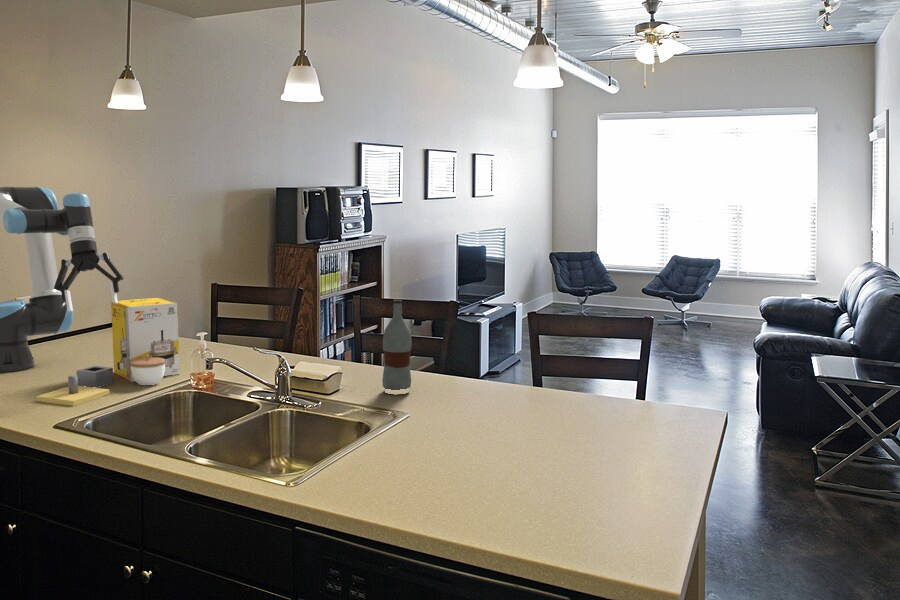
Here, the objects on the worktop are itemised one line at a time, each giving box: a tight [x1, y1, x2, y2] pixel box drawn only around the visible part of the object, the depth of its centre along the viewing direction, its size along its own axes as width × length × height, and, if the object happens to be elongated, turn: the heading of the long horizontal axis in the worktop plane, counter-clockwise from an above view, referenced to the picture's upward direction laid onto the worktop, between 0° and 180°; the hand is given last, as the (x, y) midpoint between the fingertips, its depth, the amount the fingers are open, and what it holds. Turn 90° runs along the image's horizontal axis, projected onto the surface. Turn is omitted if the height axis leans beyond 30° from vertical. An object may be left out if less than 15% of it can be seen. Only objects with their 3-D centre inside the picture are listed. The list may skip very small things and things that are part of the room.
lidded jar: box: [130, 355, 165, 386], centre depth 242 cm, size 11×11×9 cm
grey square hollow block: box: [76, 365, 114, 388], centre depth 240 cm, size 8×8×5 cm
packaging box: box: [110, 297, 180, 382], centre depth 254 cm, size 16×16×25 cm
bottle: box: [381, 299, 412, 390], centre depth 236 cm, size 9×9×30 cm
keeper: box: [35, 375, 111, 407], centre depth 224 cm, size 14×14×6 cm
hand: (93, 307), depth 233 cm, fingers open, 13 cm apart
